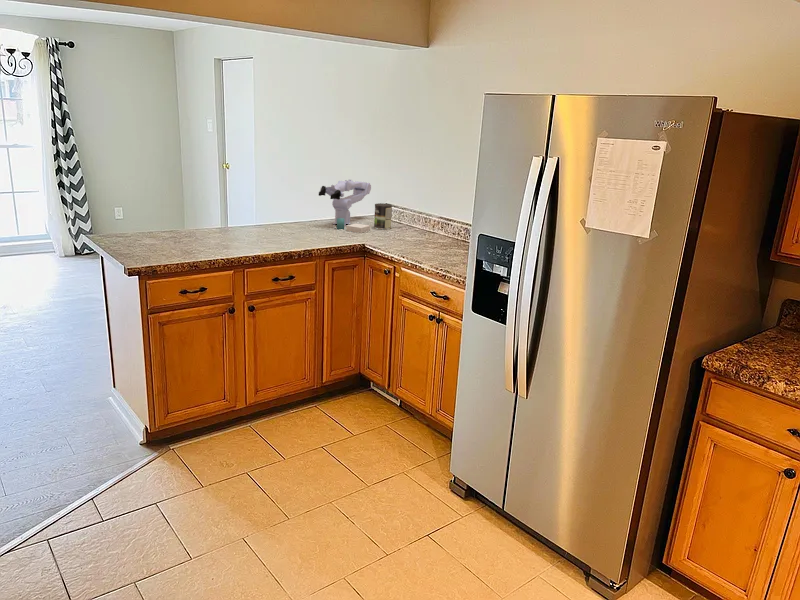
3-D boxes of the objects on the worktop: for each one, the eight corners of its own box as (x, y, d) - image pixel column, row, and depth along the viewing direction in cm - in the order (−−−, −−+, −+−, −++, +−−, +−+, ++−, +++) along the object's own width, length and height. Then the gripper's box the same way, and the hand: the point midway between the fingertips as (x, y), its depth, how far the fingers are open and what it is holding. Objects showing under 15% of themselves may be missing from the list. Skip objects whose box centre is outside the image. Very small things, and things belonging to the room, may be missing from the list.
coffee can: (376, 229, 359) (377, 205, 355) (372, 226, 369) (372, 203, 364) (393, 229, 362) (394, 206, 358) (388, 226, 372) (389, 203, 368)
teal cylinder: (339, 227, 359) (339, 217, 357) (345, 228, 357) (345, 218, 355) (334, 228, 355) (335, 218, 353) (341, 229, 353) (341, 219, 351)
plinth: (355, 228, 359) (355, 223, 358) (370, 230, 355) (370, 225, 354) (346, 230, 350) (346, 225, 350) (361, 233, 346) (361, 227, 345)
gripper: (326, 180, 358) (314, 185, 347) (348, 186, 354) (336, 192, 343) (325, 191, 362) (313, 197, 351) (347, 197, 358) (335, 203, 346)
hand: (325, 195), depth 347 cm, fingers open, 7 cm apart
